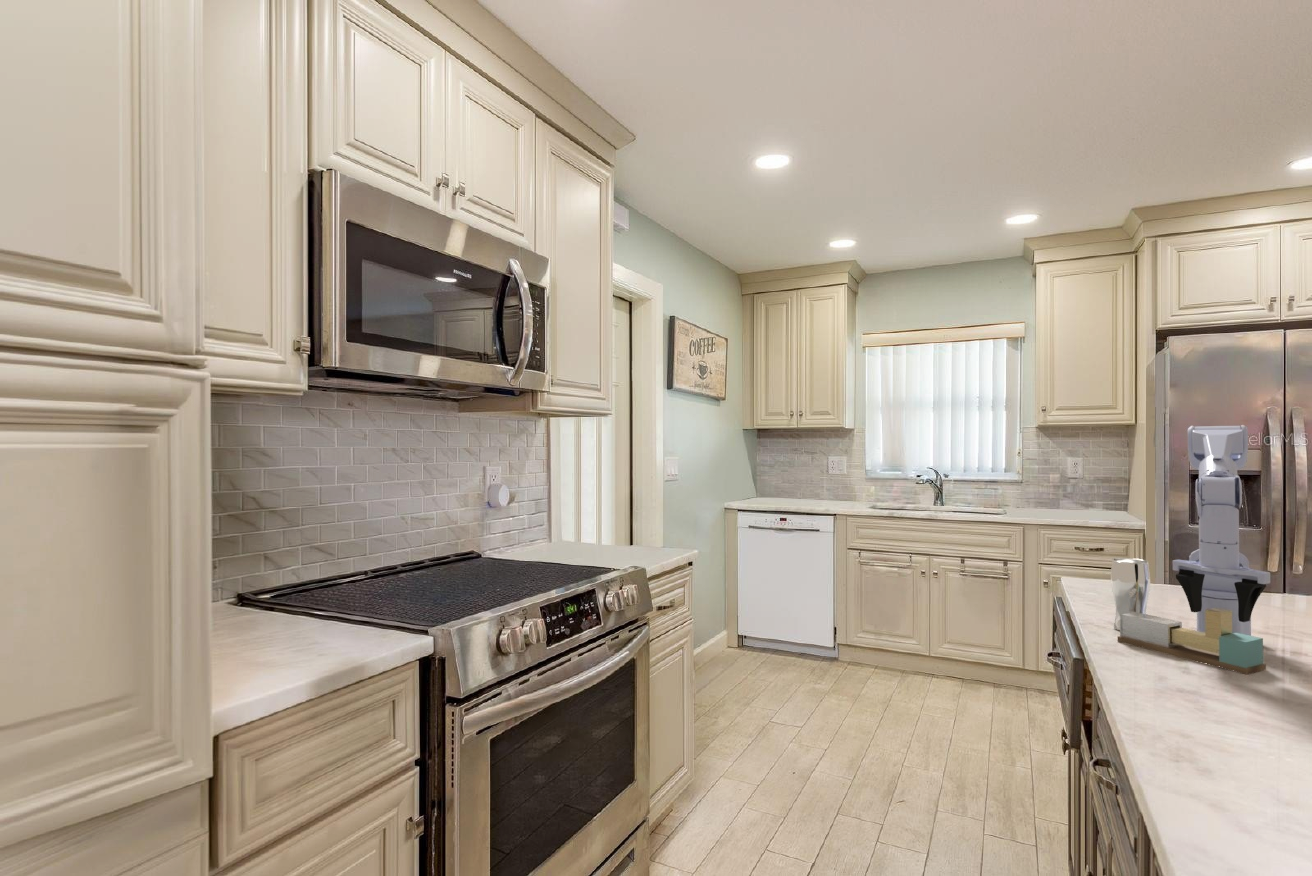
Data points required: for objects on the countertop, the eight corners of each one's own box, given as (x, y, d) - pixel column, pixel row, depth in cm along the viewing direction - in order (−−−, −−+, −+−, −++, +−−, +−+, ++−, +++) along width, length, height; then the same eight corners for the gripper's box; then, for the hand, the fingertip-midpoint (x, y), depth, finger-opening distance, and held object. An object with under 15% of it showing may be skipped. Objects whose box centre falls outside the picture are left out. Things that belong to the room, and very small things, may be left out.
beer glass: (1157, 635, 144) (1156, 563, 144) (1120, 633, 145) (1119, 562, 145) (1140, 626, 151) (1140, 558, 151) (1105, 625, 152) (1105, 557, 152)
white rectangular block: (1133, 633, 142) (1133, 611, 142) (1181, 645, 134) (1181, 621, 134) (1120, 636, 140) (1119, 613, 140) (1168, 648, 132) (1168, 624, 132)
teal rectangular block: (1236, 657, 126) (1236, 632, 126) (1263, 663, 122) (1262, 638, 122) (1219, 661, 124) (1218, 636, 124) (1245, 668, 120) (1245, 642, 120)
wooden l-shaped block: (1166, 636, 136) (1166, 598, 136) (1246, 655, 124) (1246, 613, 124) (1155, 639, 134) (1155, 600, 134) (1235, 658, 122) (1235, 615, 122)
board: (1135, 637, 142) (1135, 632, 142) (1265, 669, 122) (1265, 663, 122) (1117, 641, 140) (1117, 636, 140) (1247, 674, 120) (1247, 668, 120)
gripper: (1162, 538, 131) (1163, 609, 131) (1254, 549, 118) (1255, 628, 118) (1184, 536, 134) (1185, 605, 134) (1276, 546, 121) (1277, 623, 121)
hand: (1219, 616), depth 126 cm, fingers open, 7 cm apart
